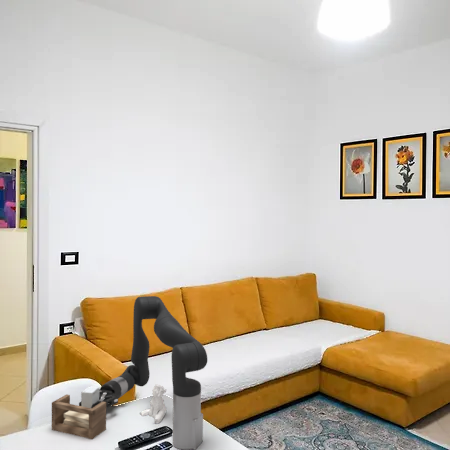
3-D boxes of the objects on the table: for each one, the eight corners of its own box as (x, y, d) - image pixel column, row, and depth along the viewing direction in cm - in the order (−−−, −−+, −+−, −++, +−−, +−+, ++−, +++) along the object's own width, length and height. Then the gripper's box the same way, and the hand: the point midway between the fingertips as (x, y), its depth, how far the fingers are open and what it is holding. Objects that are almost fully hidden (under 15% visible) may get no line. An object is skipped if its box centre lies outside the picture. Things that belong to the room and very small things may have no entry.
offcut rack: (106, 432, 159) (106, 402, 159) (92, 442, 152) (92, 411, 152) (66, 423, 166) (66, 394, 165) (51, 432, 159) (51, 402, 158)
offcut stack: (99, 428, 160) (99, 414, 160) (90, 435, 155) (90, 421, 155) (71, 422, 164) (71, 409, 164) (61, 428, 159) (61, 414, 159)
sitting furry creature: (138, 417, 171) (138, 385, 170) (154, 409, 178) (154, 378, 177) (157, 424, 165) (157, 391, 165) (173, 415, 173) (173, 384, 172)
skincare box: (92, 426, 163) (91, 393, 163) (81, 425, 164) (80, 392, 164) (100, 418, 169) (99, 386, 169) (89, 417, 170) (89, 385, 170)
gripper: (98, 377, 182) (69, 393, 166) (129, 382, 177) (102, 400, 161) (98, 396, 182) (69, 414, 166) (129, 402, 177) (102, 421, 161)
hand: (86, 407), depth 164 cm, fingers closed on skincare box, 4 cm apart
